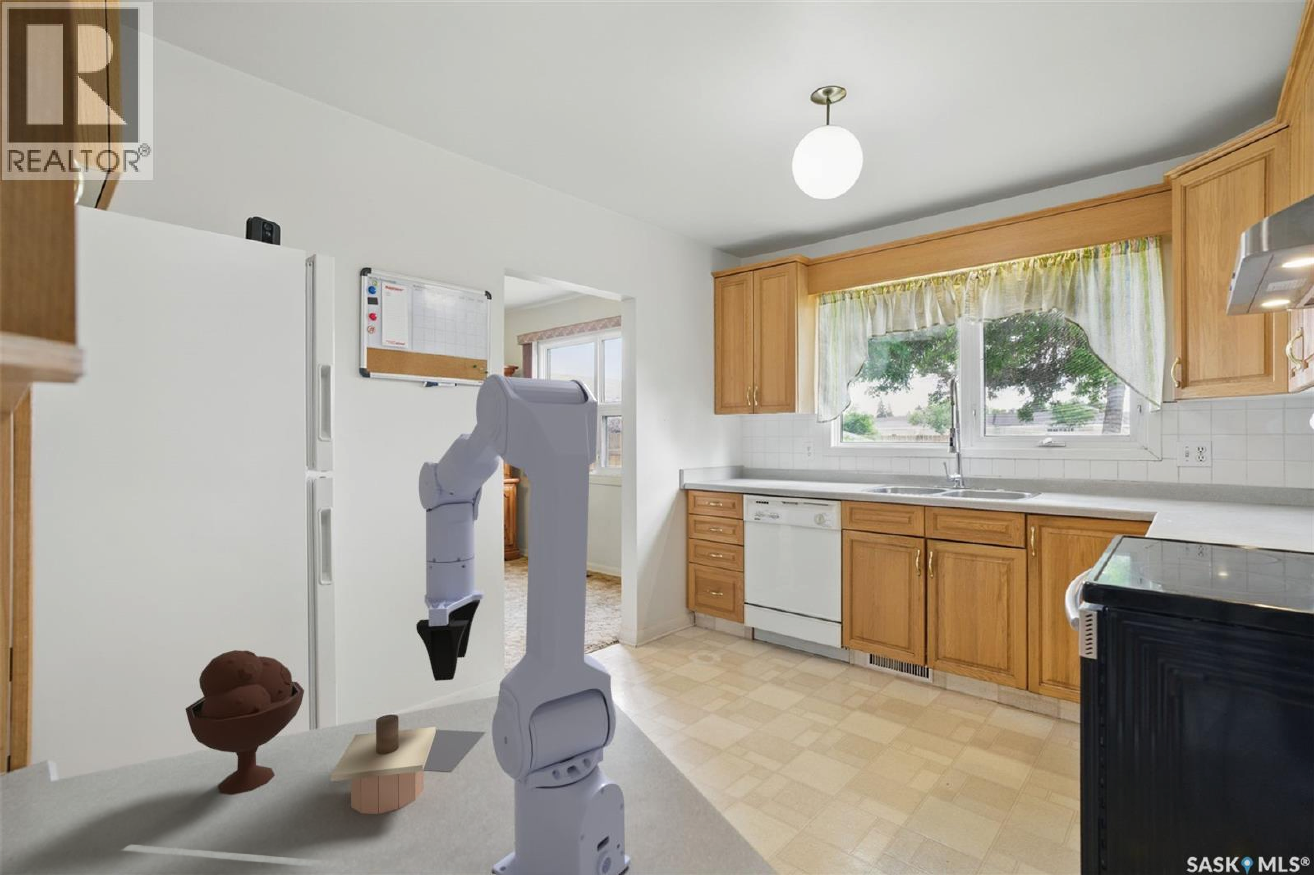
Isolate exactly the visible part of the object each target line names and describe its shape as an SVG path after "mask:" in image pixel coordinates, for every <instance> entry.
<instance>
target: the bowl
mask: <svg viewBox="0 0 1314 875" xmlns="http://www.w3.org/2000/svg"><path fill="white" fill-rule="evenodd" d="M423 791H424V771H419V772H410V773H401V774H392V775H383V776H374V777H365V778H357V779H350V807H351V808H352V809H353V810H354V811H356V812H358V813H360V814H371V815H372V814H373V815H378V814H384V813H388V812H392V811H396V810H399V809H401V808H403V807H405V806H407V805H409V804H411V803H412V802H414V801H416V800H417V799H418V797H419V796H420V795H421V794H422V793H423Z"/></svg>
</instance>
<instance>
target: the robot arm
mask: <svg viewBox="0 0 1314 875" xmlns="http://www.w3.org/2000/svg"><path fill="white" fill-rule="evenodd" d="M476 397H477V398H476V403H475V404H476V407H475V416H476V425H475V426H474V428H473V430H472V431H471V433H461V434H460V435H459V436H458V437H457V438H456V439H455V440H454V441H453V442H452V444H451V445H450V447H449V448H448V449H447V450H446V452H445V453H444V454H443V456H442V457H441V458H440V459H439V461H438V462H433V461H425V462H424V463H423V465H422V466H421V469H420V472H419V476H418V495H419V500H420V504H421V506H422V508H423V509H424V510H425V561H426V562H425V566H426V567H425V568H426V569H425V574H426V575H425V581H426V582H425V589H426V590H425V592H426V594H425V595H424V603H425V605H426V607H427V609H428V619H419V620H418V622H417V623H416V625H415V626H416V627H415V628H416V632H417V634H418V635H419V638H420V639H421V640H422V642H423V644H424V646H425V648H426V651H427V654H428V659H429V663H430V667H431V671H432V672H431V673H432V675H433V678H434V681H435V682H436V681H439V682H440V681H452V680H454V678H455V674H456V670H457V664H458V658H465V657H466V653H467V650H468V646H469V641H470V640H469V639H470V635H471V629H472V624H473V620H474V618H475V615H476V612H477V609H478V607H479V605H480V604H481V600H482V599H484V597H485V591H484V590H475V521H477V520H478V517H479V505H480V501H481V498H482V492H483V485H484V484H485V483H486V482H487V481H488V480H489V479H490V478H491V477H492V476H493V475H494V474H495V472H496V471H497V470H498V468H499V464H500V458H501V459H502V461H504V463H505V464H507V465H508V466H511V467H514V468H517V469H519V470H521V471H522V473H524V475H525V476H526V477H527V478H528V481H529V514H528V517H529V518H528V550H527V551H528V554H527V556H528V557H527V559H528V561H527V594H526V596H527V598H526V599H527V600H526V633H525V635H526V636H525V637H526V638H525V640H526V641H525V654H524V655H523V657H522V658H521V659H520V660H519V661H518V662H517V663H516V664H515V666H514V667H513V668H512V669H510V670H509V671H508V672H507V674H506V675H505V676H504V677H503V679H502V680H501V681H500V682H499V690H498V697H497V698H498V700H497V704H496V705H497V706H496V710H495V712H494V715H493V717H492V724H491V735H492V742H493V743H492V744H493V749H494V753H495V756H496V759H497V762H498V764H499V766H500V768H501V769H502V771H503V772H504V773H505V774H507V776H509V778H511V779H513V780H514V782H513V783H514V792H513V793H514V794H513V795H514V850H513V851H512V852H511V853H509V854H508V855H507V856H505V857H504V858H503V859H501V860H499V861H498V862H497V863H496V864H494V865H493V866H492V870H493V871H492V872H494V874H495V875H619V874H621V873H622V872H623V871H625V869H626V868H627V867H628V866H629V865H630V864H631V857H630V855H627V854H625V853H626V852H625V845H626V844H625V843H626V842H625V840H626V839H625V838H626V837H625V829H626V828H625V797H624V794H623V790H622V789H621V787H620V786H619V785H618V784H617V783H616V782H614V781H613V780H612V779H610V778H609V777H608V776H606V775H605V774H604V772H603V771H602V770H601V768H600V767H599V764H600V763H601V762H603V761H604V748H606V747H608V746H609V745H611V742H612V741H613V739H614V736H615V732H616V728H617V727H616V726H617V713H616V705H615V704H614V703H615V701H614V700H613V696H612V695H613V694H612V687H611V685H612V684H611V683H612V675H611V674H610V673H609V671H608V670H607V669H606V668H605V666H604V665H602V663H600V662H599V661H598V660H597V659H595V658H594V657H592V656H590V655H589V654H587V653H586V652H585V639H586V638H585V634H586V632H585V631H586V630H585V629H586V600H587V573H588V572H587V569H588V568H587V567H588V565H587V564H588V537H589V536H588V535H589V534H588V531H589V530H588V529H589V528H588V527H589V503H590V502H589V500H590V499H589V498H590V496H589V494H590V493H589V492H590V465H592V464H593V463H595V462H596V460H597V439H598V438H597V437H598V436H597V435H598V432H597V431H598V401H597V399H596V398H595V396H594V395H593V394H592V392H591V390H590V389H589V387H588V385H587V384H585V382H583V381H581V380H579V379H570V380H562V379H560V380H559V379H547V378H533V377H532V378H530V377H516V376H503V375H500V374H496V373H494V374H490V375H489V376H487V378H486V379H485V380H484V381H483V382H482V383H481V385H480V388H479V389H478V393H477V396H476Z"/></svg>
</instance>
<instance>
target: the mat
mask: <svg viewBox="0 0 1314 875" xmlns="http://www.w3.org/2000/svg"><path fill="white" fill-rule="evenodd" d="M485 733H486V731H473V730H471V731H468V730H454V729H453V730H451V729H450V730H448V729H436V733H435V736H434V739H433V742H432V745H431V748H430V751H429V754H428V757H427V760H426V763H425V766H424V769H423V772H424V771H426V772H427V771H428V772H439V773H440V772H442V773H443V772H444V773H452V772H453V771H454V769H456V768H457V766H458V765H459V764H460V763H461V761H463V759H464V758H465V757H466V755H468V753H469V752H471V750H472V749H473V748H474V747H475V745H476V744H477V743H478V742H479V741H480V739H481V738H482V737H483V736H484V735H485Z"/></svg>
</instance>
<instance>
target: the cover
mask: <svg viewBox="0 0 1314 875" xmlns="http://www.w3.org/2000/svg"><path fill="white" fill-rule="evenodd" d="M436 730H437V727H436V726H430V727H422V728H421V727H420V728H411V729H400V730H399V716H398V715H397V714H387V715H382V716H380V717H378V718H377V719H376V720H375V732H371V733H370V732H368V733H360V734H355V735H354V736H353V738H352V739H351V741H350V743H349V745H348V746H347V748H346V749H345V751H344V752H343V754H342V756H341V758H340V759H339V761H338V763H337V764H336V766H335V768H334V770H332V772H331V774H330V782H336V781H337V782H338V781H346V780H347V781H348V780H351V779H357V778H365V777H374V776H383V775H392V774H401V773H410V772H419V771H423V769H424V766H425V763H426V760H427V757H428V754H429V751H430V748H431V745H432V742H433V739H434V736H435V733H436ZM423 772H424V771H423Z"/></svg>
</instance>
